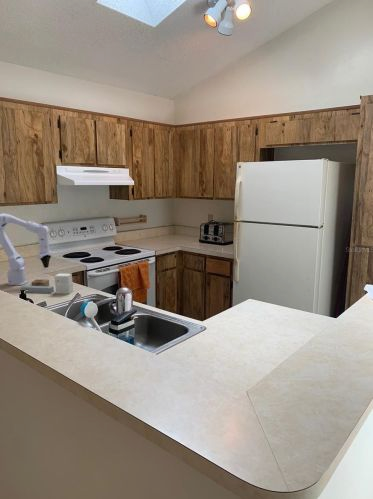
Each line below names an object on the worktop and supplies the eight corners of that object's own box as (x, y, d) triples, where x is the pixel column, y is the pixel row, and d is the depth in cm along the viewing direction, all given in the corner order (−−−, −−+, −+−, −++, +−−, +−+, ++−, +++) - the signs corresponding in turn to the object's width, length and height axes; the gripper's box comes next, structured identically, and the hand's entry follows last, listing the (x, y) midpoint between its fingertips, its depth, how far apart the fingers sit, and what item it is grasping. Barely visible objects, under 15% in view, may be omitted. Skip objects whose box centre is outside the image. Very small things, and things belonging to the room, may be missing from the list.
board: (21, 292, 217) (20, 287, 216) (24, 290, 220) (23, 285, 219) (51, 293, 215) (50, 288, 214) (53, 291, 218) (53, 286, 217)
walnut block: (32, 288, 224) (31, 282, 223) (36, 285, 230) (36, 279, 229) (45, 288, 224) (44, 282, 223) (49, 285, 230) (48, 279, 229)
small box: (73, 291, 218) (72, 273, 216) (69, 294, 213) (68, 276, 211) (60, 290, 219) (58, 273, 217) (55, 293, 214) (54, 275, 211)
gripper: (44, 248, 223) (46, 270, 226) (55, 243, 237) (57, 264, 240) (33, 247, 224) (35, 270, 226) (45, 243, 238) (47, 264, 241)
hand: (46, 267), depth 233 cm, fingers closed
